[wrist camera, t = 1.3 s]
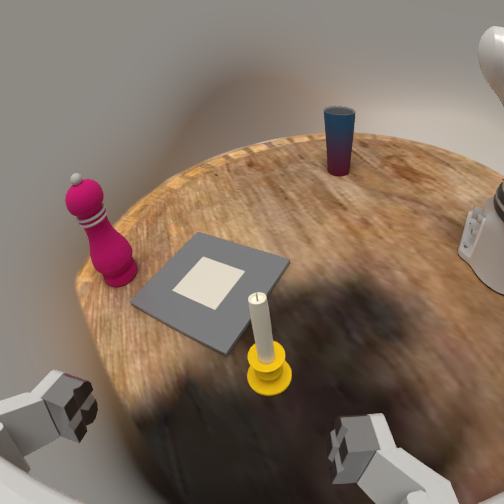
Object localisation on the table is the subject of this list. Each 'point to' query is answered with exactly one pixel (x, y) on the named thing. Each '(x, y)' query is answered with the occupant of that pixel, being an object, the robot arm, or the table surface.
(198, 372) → the table surface
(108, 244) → the pepper mill
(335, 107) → the cup
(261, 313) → the candle
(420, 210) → the table surface
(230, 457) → the table surface
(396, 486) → the robot arm
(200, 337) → the tile
